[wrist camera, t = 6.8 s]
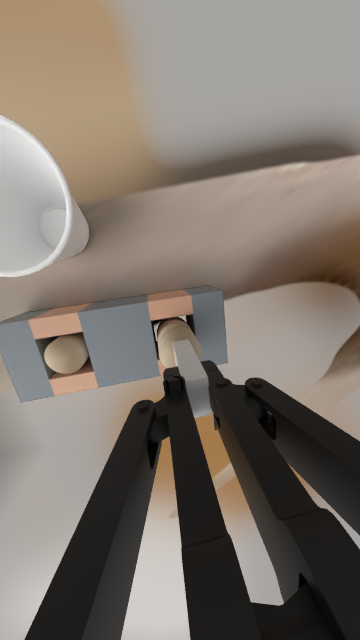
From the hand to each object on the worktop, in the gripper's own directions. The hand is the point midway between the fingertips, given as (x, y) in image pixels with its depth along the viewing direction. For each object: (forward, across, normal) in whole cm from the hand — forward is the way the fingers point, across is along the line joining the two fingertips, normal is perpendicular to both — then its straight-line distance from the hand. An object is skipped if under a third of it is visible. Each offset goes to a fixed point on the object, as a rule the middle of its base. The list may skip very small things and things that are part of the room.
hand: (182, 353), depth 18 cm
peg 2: (+6, 0, 0) cm, 6 cm away
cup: (+11, -11, +14) cm, 21 cm away
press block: (+11, -6, 0) cm, 12 cm away
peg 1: (+10, -12, 0) cm, 16 cm away
